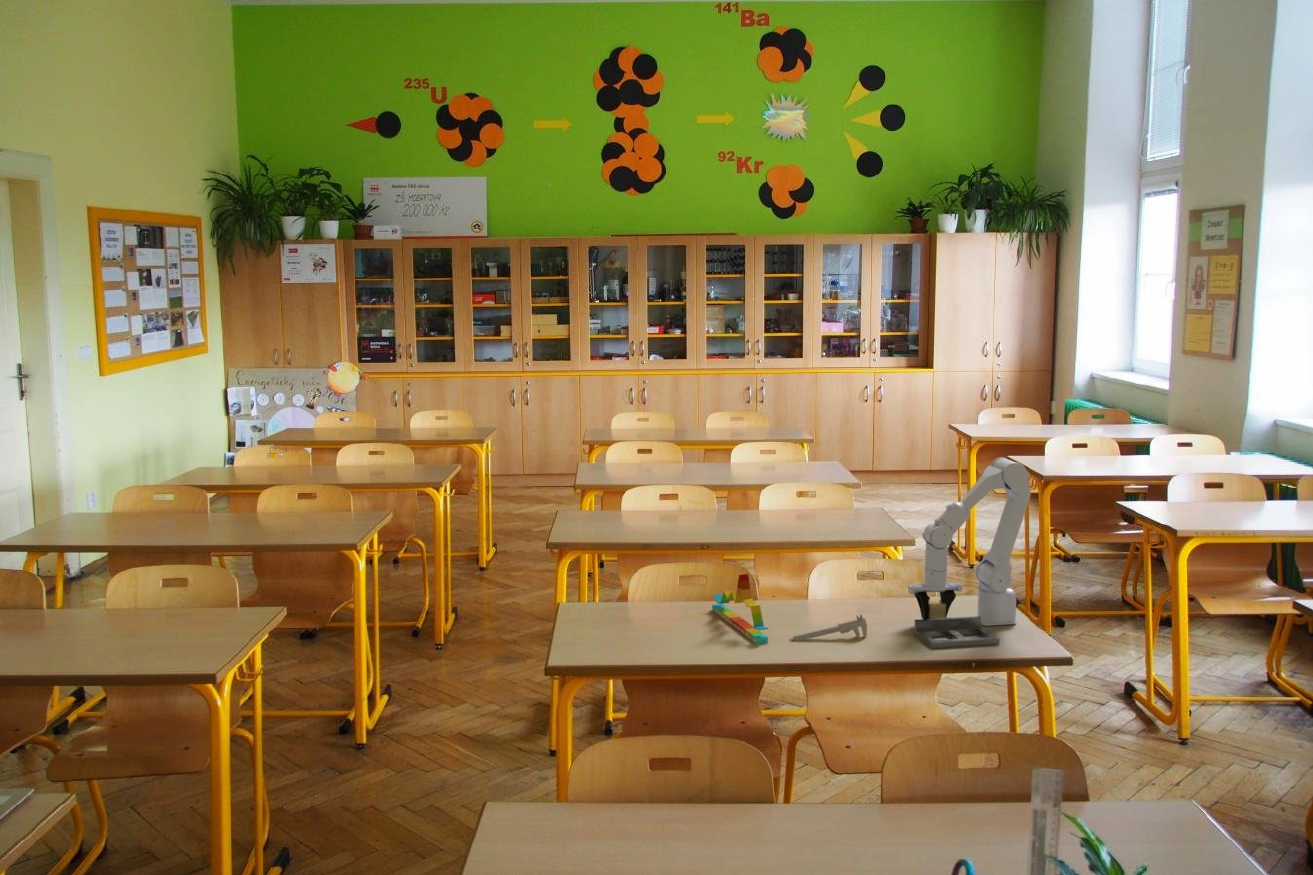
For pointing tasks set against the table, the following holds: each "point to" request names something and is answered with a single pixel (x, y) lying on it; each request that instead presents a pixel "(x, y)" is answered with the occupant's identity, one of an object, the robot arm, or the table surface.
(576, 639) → the table surface
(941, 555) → the robot arm
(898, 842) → the table surface
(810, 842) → the table surface
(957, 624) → the grey tray
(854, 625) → the caliper
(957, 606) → the table surface
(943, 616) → the brass block
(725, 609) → the rainbow striped peaked bar
